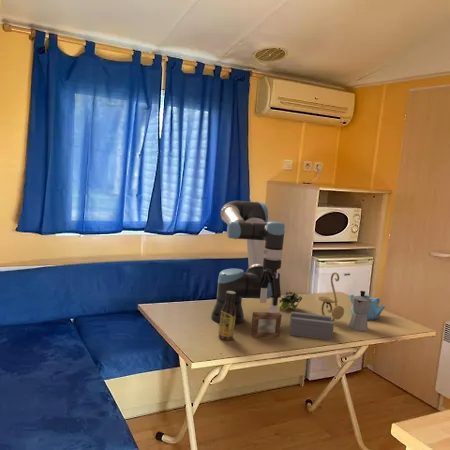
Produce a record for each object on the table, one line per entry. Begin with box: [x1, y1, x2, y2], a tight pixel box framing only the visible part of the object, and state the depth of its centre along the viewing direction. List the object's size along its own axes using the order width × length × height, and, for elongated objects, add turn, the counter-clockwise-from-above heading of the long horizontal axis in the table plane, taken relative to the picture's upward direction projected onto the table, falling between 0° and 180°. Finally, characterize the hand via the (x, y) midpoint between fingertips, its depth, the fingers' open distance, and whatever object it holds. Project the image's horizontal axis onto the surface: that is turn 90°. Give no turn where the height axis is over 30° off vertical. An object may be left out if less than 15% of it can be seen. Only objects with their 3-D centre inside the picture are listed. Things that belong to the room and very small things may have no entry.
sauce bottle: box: [218, 291, 236, 341], centre depth 188 cm, size 7×6×20 cm
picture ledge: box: [289, 311, 335, 341], centre depth 204 cm, size 18×12×7 cm, turn 84°
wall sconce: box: [318, 272, 345, 323], centre depth 220 cm, size 14×10×25 cm
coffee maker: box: [348, 290, 371, 332], centre depth 216 cm, size 15×9×18 cm, turn 151°
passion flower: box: [278, 291, 303, 312], centre depth 234 cm, size 11×11×12 cm
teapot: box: [349, 294, 386, 321], centre depth 235 cm, size 15×17×11 cm
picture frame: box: [250, 311, 282, 338], centre depth 195 cm, size 12×3×10 cm, turn 104°
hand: (267, 307), depth 194 cm, fingers open, 13 cm apart
